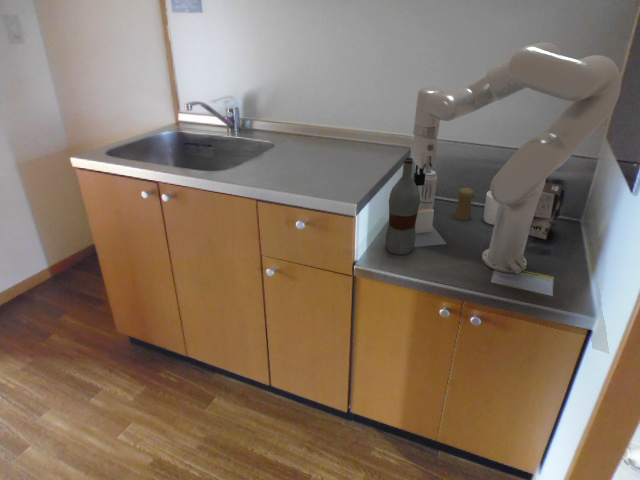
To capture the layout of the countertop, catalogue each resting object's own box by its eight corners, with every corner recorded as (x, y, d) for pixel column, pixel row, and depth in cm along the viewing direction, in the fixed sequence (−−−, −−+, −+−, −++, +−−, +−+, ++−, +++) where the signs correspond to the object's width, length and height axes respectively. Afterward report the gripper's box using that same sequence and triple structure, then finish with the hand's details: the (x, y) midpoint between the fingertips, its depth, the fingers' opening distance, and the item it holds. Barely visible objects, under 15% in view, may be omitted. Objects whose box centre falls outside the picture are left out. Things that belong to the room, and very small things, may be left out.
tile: (431, 231, 148) (434, 210, 144) (411, 233, 148) (413, 212, 143) (429, 229, 150) (432, 208, 146) (409, 231, 149) (412, 210, 145)
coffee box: (546, 240, 144) (560, 195, 136) (525, 234, 147) (537, 190, 139) (550, 228, 151) (563, 184, 143) (530, 223, 154) (542, 180, 146)
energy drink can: (415, 212, 162) (419, 174, 154) (416, 205, 167) (421, 168, 159) (432, 214, 160) (437, 176, 153) (433, 207, 165) (438, 169, 158)
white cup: (477, 220, 156) (482, 194, 151) (488, 213, 161) (494, 188, 156) (497, 228, 151) (503, 201, 146) (509, 220, 156) (515, 195, 151)
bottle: (391, 238, 146) (398, 151, 130) (418, 245, 142) (429, 156, 127) (380, 252, 139) (387, 161, 123) (408, 259, 135) (419, 166, 120)
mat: (446, 245, 142) (446, 243, 142) (413, 248, 141) (414, 246, 140) (430, 224, 154) (430, 223, 154) (399, 227, 152) (400, 226, 152)
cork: (471, 222, 155) (476, 193, 150) (453, 220, 156) (458, 192, 151) (469, 214, 160) (475, 186, 155) (452, 213, 161) (457, 185, 156)
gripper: (447, 137, 130) (438, 193, 140) (428, 122, 143) (421, 175, 153) (423, 138, 129) (415, 195, 139) (406, 123, 142) (400, 176, 151)
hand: (418, 184), depth 146 cm, fingers closed
